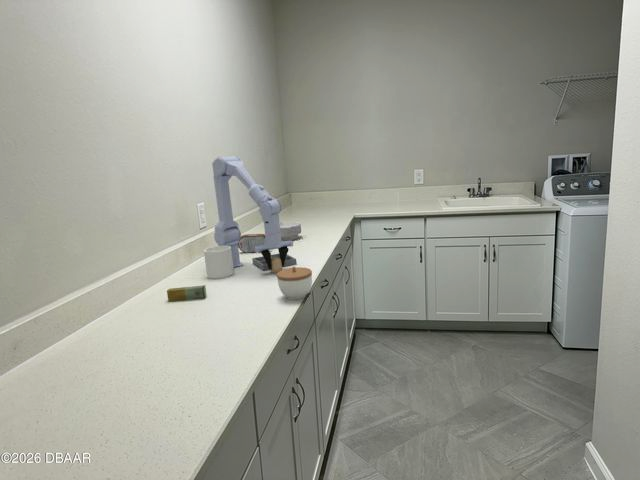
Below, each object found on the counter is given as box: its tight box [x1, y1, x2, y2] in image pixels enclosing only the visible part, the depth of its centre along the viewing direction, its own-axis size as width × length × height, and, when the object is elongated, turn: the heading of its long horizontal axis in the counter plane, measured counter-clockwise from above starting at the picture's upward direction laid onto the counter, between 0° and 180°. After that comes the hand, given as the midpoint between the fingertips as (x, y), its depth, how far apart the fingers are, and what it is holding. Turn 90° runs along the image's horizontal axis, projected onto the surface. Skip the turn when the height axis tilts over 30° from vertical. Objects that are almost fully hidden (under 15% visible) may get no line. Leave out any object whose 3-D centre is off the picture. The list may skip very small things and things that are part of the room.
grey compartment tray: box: [251, 253, 298, 272], centre depth 171 cm, size 14×14×2 cm
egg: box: [270, 256, 283, 274], centre depth 160 cm, size 4×4×6 cm
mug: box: [203, 245, 235, 280], centre depth 162 cm, size 13×10×10 cm
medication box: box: [166, 284, 208, 303], centre depth 137 cm, size 12×3×4 cm, turn 92°
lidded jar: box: [276, 266, 313, 301], centre depth 131 cm, size 11×11×9 cm
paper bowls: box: [279, 221, 302, 242], centre depth 217 cm, size 15×15×8 cm
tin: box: [238, 233, 266, 254], centre depth 194 cm, size 15×3×8 cm, turn 84°
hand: (276, 267), depth 160 cm, fingers closed on egg, 4 cm apart
